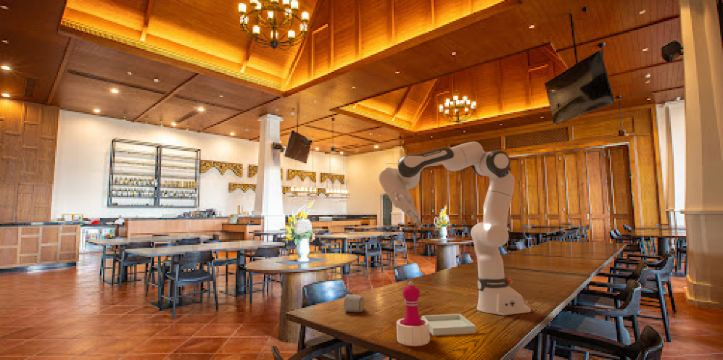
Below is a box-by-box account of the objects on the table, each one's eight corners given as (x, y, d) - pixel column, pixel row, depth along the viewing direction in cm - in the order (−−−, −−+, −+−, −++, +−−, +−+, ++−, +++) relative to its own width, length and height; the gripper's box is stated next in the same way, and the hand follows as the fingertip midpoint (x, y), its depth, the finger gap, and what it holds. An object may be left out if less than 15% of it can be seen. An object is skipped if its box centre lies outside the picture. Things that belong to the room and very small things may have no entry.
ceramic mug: (360, 314, 152) (360, 296, 153) (343, 313, 155) (343, 295, 156) (367, 308, 163) (366, 291, 163) (351, 307, 165) (350, 291, 166)
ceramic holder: (424, 333, 125) (423, 316, 126) (433, 344, 114) (432, 326, 115) (395, 335, 124) (394, 318, 125) (400, 346, 113) (400, 328, 114)
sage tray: (460, 320, 140) (459, 313, 140) (476, 333, 124) (475, 325, 124) (421, 322, 139) (421, 315, 139) (433, 335, 123) (432, 328, 123)
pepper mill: (408, 344, 115) (405, 283, 117) (399, 337, 122) (397, 280, 124) (427, 342, 117) (424, 282, 119) (418, 335, 124) (415, 278, 126)
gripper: (400, 187, 141) (418, 213, 134) (413, 201, 158) (429, 225, 151) (388, 195, 142) (405, 222, 135) (402, 208, 159) (418, 233, 152)
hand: (418, 224), depth 143 cm, fingers open, 8 cm apart
